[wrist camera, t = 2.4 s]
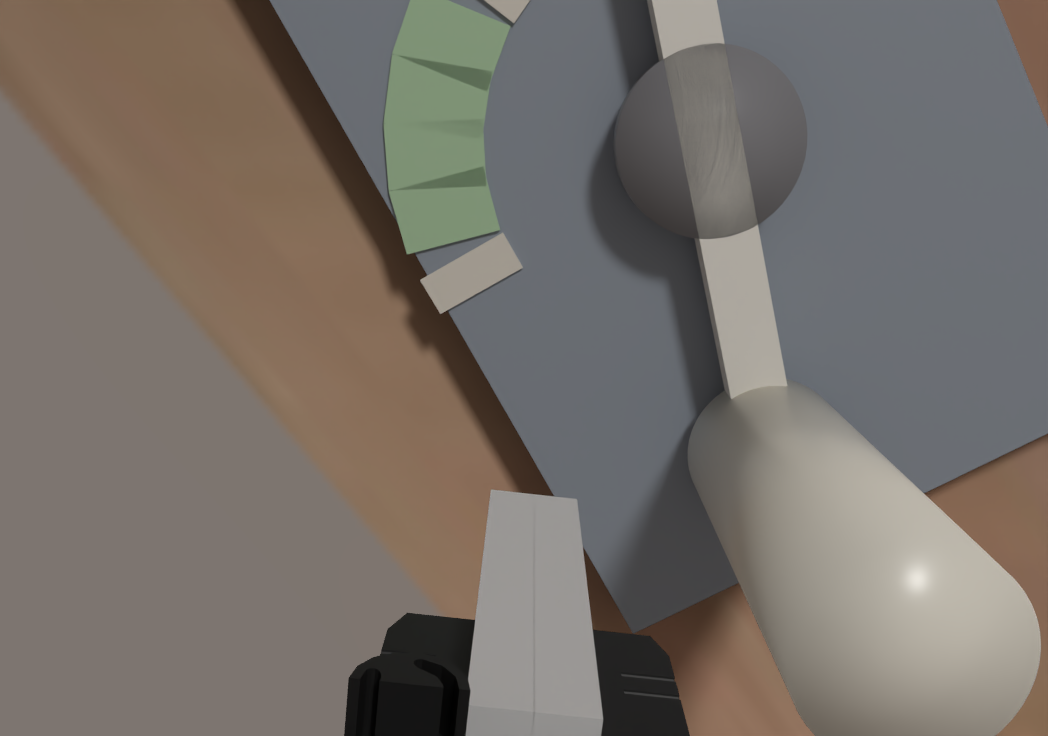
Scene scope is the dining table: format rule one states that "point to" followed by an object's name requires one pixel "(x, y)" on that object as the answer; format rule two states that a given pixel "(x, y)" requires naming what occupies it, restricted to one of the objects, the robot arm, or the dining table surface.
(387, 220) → the dining table surface
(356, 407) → the dining table surface
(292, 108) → the dining table surface
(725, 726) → the dining table surface
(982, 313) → the dial plate
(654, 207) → the needle
